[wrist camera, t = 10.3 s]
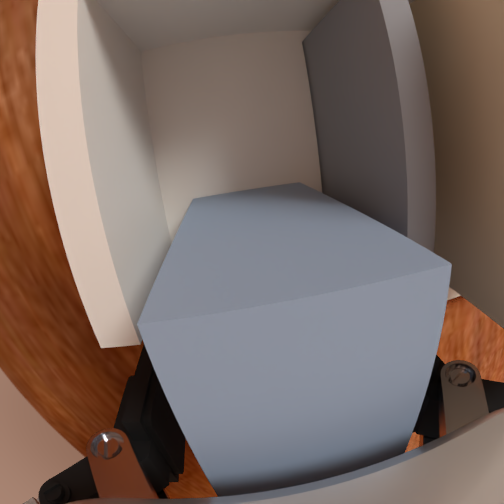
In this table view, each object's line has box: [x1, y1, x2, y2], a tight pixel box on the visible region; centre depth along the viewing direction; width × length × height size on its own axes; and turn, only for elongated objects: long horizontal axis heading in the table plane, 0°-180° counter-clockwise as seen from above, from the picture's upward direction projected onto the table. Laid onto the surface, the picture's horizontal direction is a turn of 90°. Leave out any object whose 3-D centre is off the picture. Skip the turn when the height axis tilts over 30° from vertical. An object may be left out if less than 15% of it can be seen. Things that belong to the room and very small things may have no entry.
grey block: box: [137, 182, 452, 497], centre depth 9 cm, size 4×11×8 cm, turn 8°
